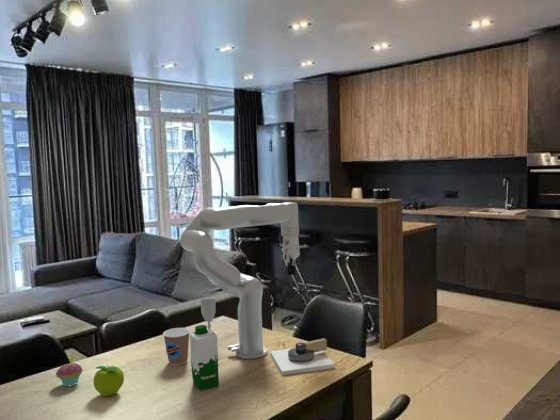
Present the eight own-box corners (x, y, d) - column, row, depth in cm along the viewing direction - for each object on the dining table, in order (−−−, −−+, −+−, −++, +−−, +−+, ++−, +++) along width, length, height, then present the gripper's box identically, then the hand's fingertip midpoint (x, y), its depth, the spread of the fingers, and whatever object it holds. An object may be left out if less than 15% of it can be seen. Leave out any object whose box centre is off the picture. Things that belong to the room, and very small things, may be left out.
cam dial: (295, 364, 174) (295, 351, 174) (283, 355, 183) (283, 343, 183) (332, 355, 181) (332, 342, 181) (319, 347, 190) (318, 335, 190)
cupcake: (88, 380, 172) (86, 348, 171) (71, 390, 164) (68, 357, 163) (69, 377, 175) (67, 346, 174) (51, 387, 166) (48, 354, 166)
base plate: (282, 375, 169) (281, 370, 169) (270, 354, 189) (270, 350, 188) (334, 368, 174) (334, 363, 174) (318, 348, 193) (318, 344, 193)
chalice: (219, 338, 210) (217, 298, 209) (216, 343, 203) (214, 302, 202) (203, 338, 211) (201, 298, 209) (199, 344, 204) (197, 303, 203)
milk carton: (213, 377, 170) (210, 322, 169) (222, 386, 162) (219, 329, 161) (189, 382, 166) (186, 327, 165) (197, 393, 158) (194, 334, 157)
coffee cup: (159, 365, 183) (157, 335, 182) (174, 355, 192) (173, 326, 191) (181, 368, 179) (180, 337, 178) (196, 358, 188) (194, 328, 187)
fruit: (107, 403, 153) (105, 373, 153) (89, 396, 158) (87, 368, 158) (130, 391, 161) (128, 363, 160) (112, 385, 166) (110, 358, 165)
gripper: (293, 234, 191) (295, 278, 193) (302, 229, 205) (304, 270, 207) (276, 234, 193) (278, 278, 195) (286, 229, 208) (287, 270, 209)
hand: (291, 274), depth 201 cm, fingers closed
